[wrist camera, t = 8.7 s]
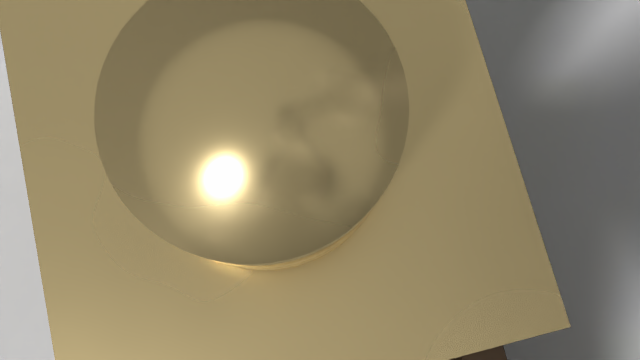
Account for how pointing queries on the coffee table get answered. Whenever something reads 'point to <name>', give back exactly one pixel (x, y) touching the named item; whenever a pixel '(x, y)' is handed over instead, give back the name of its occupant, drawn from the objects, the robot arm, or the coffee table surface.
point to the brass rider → (272, 181)
